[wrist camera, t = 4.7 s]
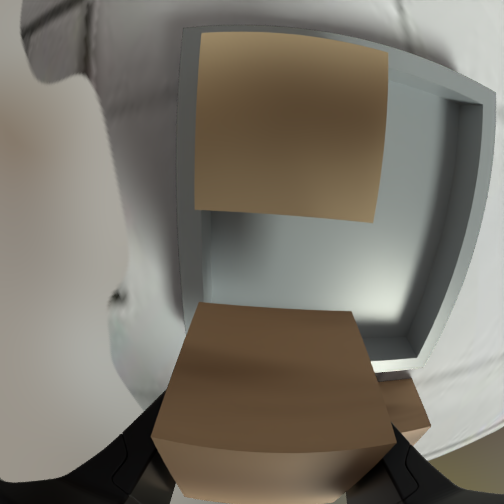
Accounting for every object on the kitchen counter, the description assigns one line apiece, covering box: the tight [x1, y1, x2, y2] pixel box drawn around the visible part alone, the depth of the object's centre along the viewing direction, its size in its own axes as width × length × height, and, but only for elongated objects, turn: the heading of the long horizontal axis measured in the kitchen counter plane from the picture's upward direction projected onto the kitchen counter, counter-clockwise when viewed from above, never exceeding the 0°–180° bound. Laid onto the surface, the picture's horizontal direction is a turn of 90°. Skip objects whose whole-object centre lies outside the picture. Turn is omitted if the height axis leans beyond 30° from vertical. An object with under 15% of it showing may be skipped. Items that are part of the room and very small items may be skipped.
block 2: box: [151, 302, 397, 504], centre depth 8 cm, size 5×5×5 cm
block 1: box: [194, 32, 388, 223], centre depth 9 cm, size 5×5×5 cm
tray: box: [176, 25, 496, 373], centre depth 12 cm, size 16×14×2 cm
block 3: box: [378, 378, 431, 446], centre depth 17 cm, size 5×5×5 cm
